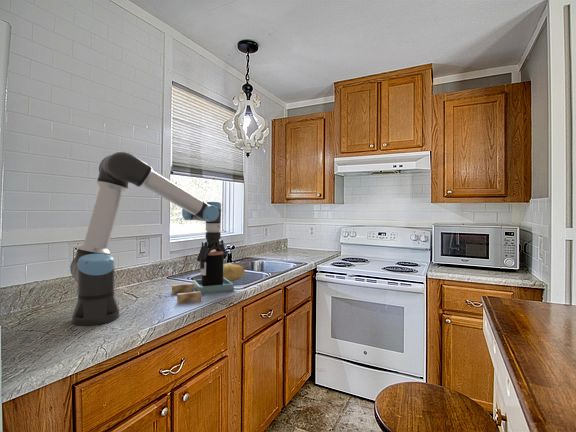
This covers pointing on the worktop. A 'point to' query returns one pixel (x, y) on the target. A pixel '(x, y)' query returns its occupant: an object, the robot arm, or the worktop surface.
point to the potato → (233, 272)
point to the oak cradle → (186, 293)
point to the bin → (213, 287)
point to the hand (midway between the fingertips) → (212, 272)
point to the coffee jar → (213, 269)
